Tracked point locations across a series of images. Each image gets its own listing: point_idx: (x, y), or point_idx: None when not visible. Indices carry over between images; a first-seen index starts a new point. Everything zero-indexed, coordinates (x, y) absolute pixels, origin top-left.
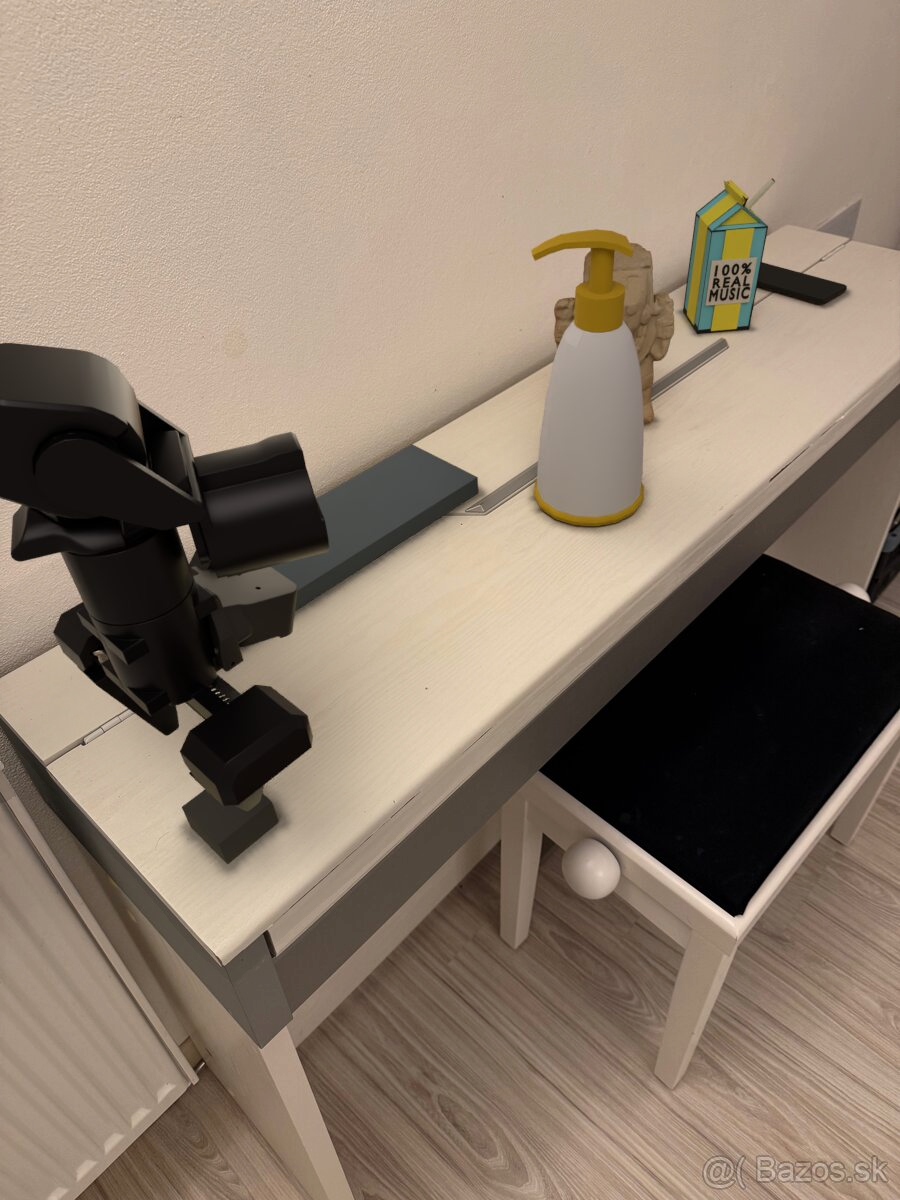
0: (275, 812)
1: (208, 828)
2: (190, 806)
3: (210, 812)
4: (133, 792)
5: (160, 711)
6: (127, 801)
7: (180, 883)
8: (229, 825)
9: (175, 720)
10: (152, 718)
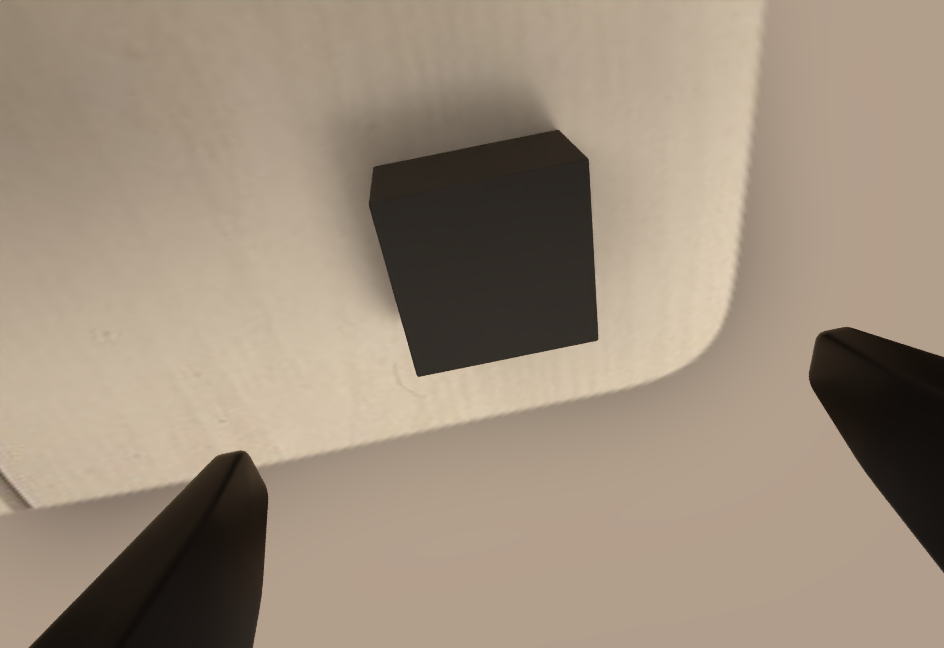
0: (572, 143)
1: (534, 345)
2: (433, 360)
3: (488, 324)
4: (225, 395)
5: (218, 622)
6: (247, 411)
7: (537, 381)
8: (567, 299)
9: (232, 491)
10: (238, 637)
